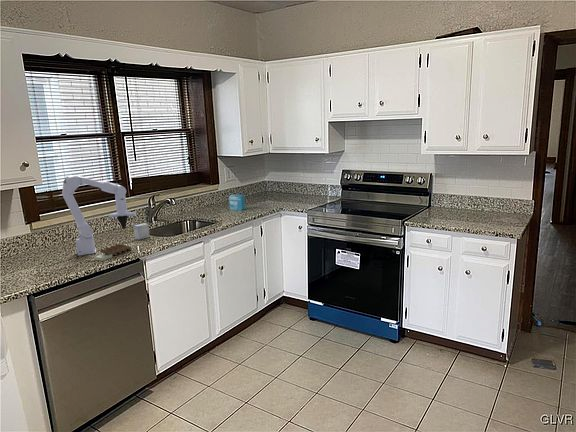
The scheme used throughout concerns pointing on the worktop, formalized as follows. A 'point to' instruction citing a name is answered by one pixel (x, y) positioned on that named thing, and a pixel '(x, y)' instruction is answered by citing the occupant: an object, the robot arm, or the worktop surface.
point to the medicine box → (141, 231)
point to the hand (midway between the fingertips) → (124, 228)
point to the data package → (237, 202)
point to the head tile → (123, 246)
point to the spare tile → (103, 257)
